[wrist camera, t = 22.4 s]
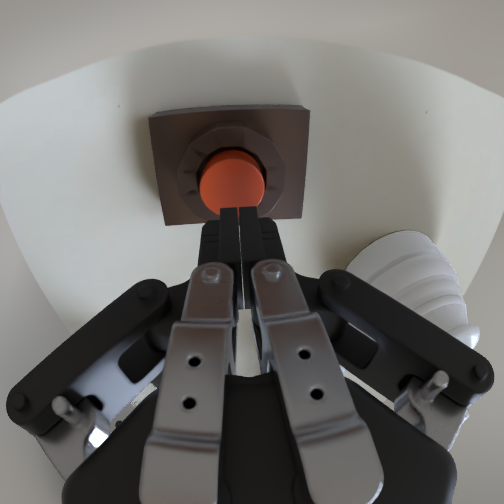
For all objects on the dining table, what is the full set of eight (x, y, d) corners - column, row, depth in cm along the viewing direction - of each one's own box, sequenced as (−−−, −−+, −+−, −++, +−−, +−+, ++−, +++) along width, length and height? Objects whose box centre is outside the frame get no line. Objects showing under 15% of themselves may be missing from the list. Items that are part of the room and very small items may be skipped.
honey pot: (438, 281, 30) (503, 395, 16) (357, 328, 34) (399, 454, 20) (426, 208, 23) (539, 355, 9) (319, 272, 27) (378, 455, 13)
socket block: (170, 211, 21) (160, 240, 18) (156, 112, 17) (140, 123, 13) (295, 204, 22) (307, 232, 19) (301, 105, 17) (318, 115, 14)
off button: (204, 205, 17) (202, 219, 16) (199, 151, 15) (196, 161, 14) (260, 202, 18) (264, 216, 16) (261, 148, 15) (265, 157, 14)
